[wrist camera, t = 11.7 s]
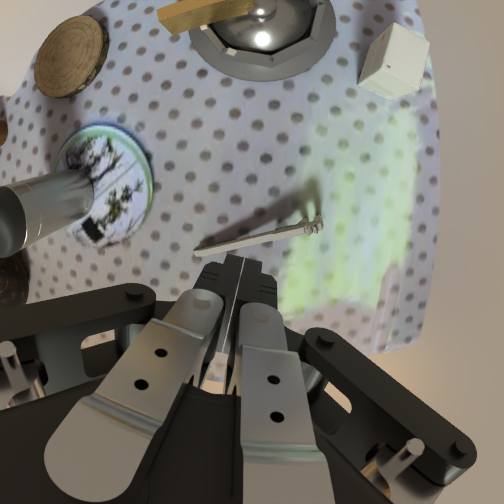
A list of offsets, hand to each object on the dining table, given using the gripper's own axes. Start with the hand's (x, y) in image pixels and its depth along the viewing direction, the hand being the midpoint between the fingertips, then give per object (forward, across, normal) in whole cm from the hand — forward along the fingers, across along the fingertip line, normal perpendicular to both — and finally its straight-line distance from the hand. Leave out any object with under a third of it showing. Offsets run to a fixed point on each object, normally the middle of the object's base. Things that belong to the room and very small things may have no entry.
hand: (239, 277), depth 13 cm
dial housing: (+32, +6, -26) cm, 41 cm away
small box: (+32, -13, -22) cm, 41 cm away
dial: (+31, +8, -24) cm, 40 cm away
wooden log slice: (+33, +38, -17) cm, 53 cm away
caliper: (+32, -1, +8) cm, 34 cm away
